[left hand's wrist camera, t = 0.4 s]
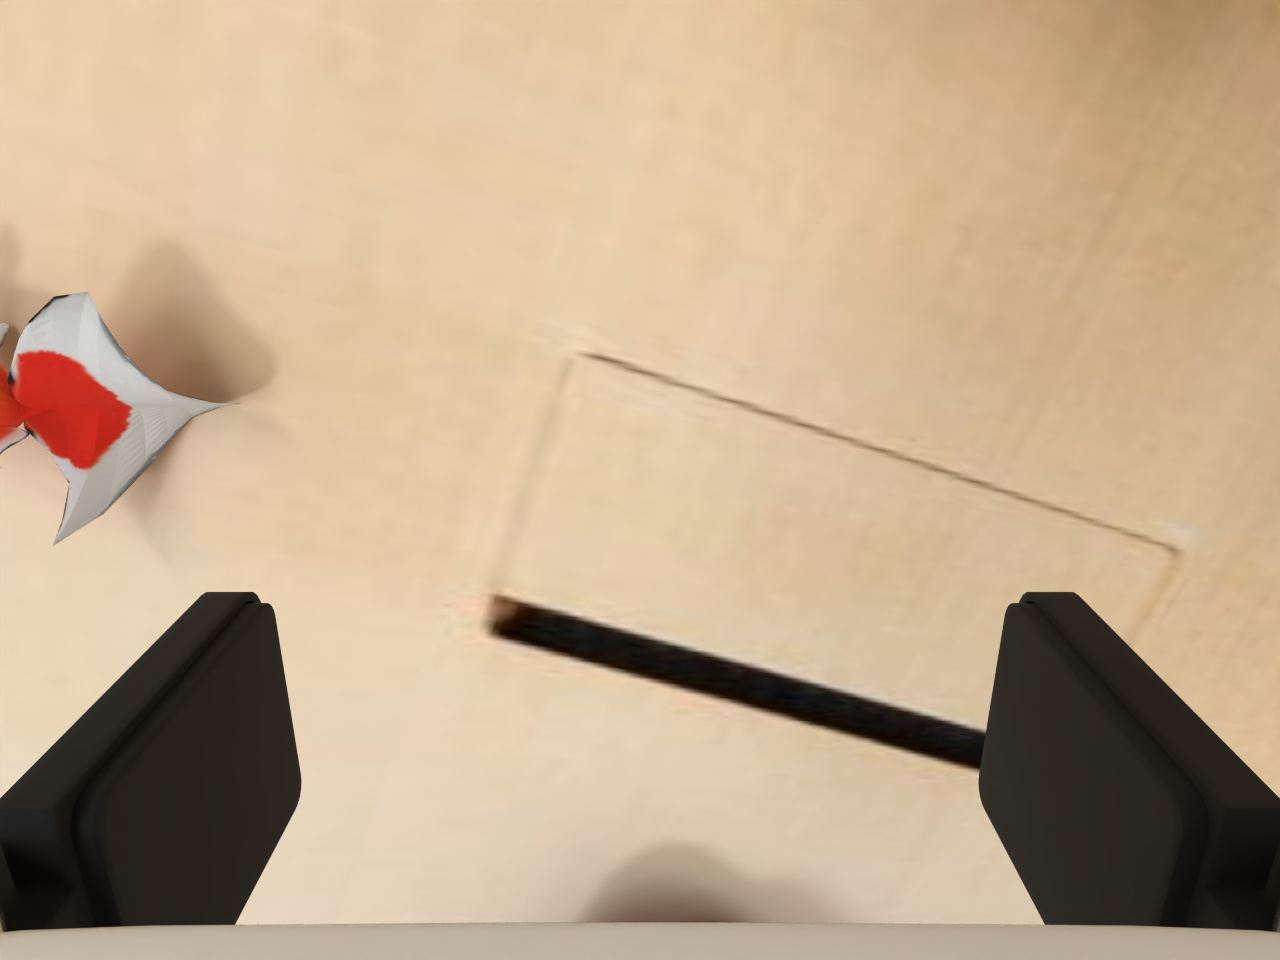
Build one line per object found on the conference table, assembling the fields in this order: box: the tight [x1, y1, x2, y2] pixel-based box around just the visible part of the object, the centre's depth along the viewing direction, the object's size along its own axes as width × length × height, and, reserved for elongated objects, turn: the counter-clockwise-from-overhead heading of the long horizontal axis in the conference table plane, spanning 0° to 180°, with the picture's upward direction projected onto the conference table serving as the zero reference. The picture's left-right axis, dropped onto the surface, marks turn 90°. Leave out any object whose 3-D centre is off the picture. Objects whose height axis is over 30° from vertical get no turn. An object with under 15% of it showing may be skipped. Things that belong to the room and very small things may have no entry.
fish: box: [0, 292, 238, 546], centre depth 37 cm, size 11×16×10 cm
